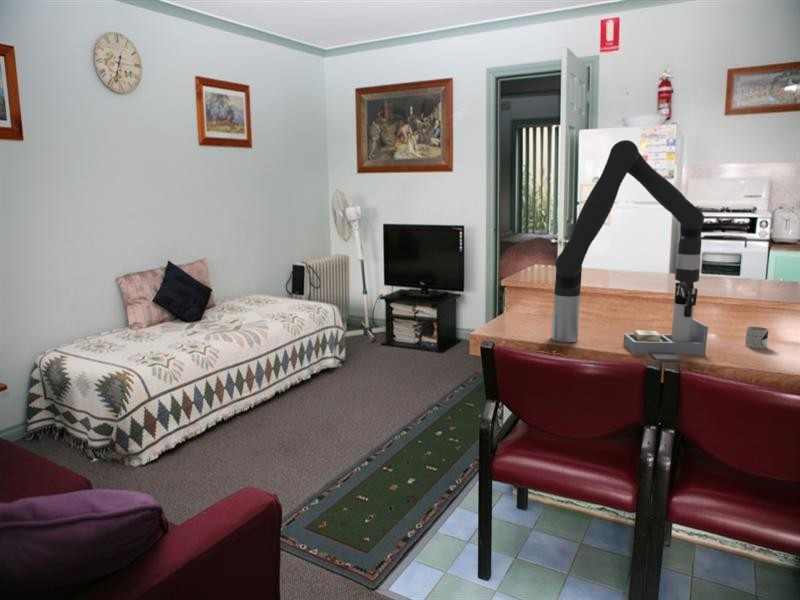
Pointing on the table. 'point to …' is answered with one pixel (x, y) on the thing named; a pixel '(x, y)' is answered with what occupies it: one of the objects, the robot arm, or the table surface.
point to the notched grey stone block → (756, 337)
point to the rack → (667, 346)
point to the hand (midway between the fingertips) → (683, 314)
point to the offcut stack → (647, 336)
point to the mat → (665, 356)
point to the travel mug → (681, 322)
